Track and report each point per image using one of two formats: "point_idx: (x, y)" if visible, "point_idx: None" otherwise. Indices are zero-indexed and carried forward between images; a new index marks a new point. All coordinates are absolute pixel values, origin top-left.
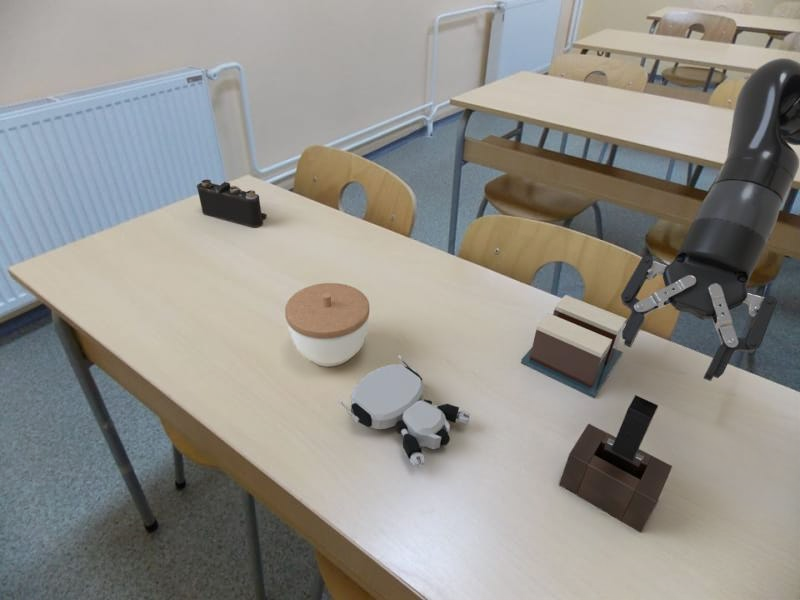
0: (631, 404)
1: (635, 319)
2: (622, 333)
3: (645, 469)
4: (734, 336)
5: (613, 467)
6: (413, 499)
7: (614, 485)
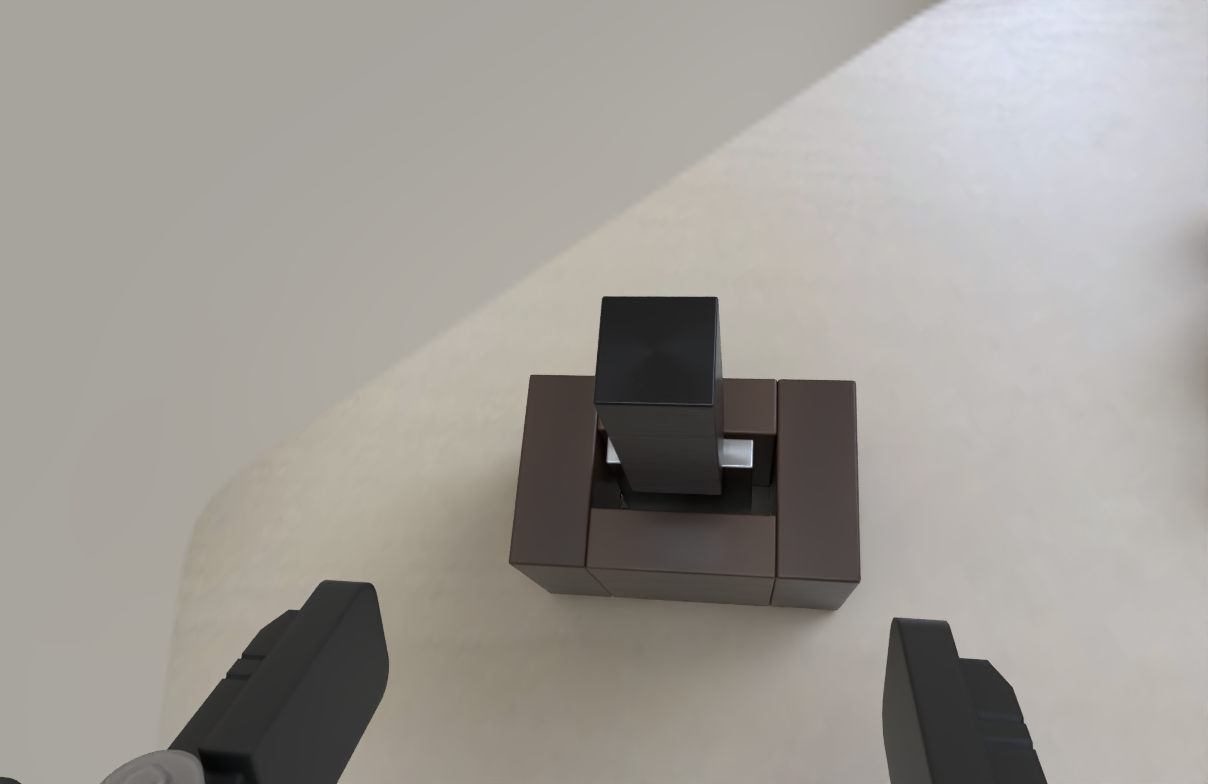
0: (711, 324)
1: (988, 772)
2: (1000, 680)
3: (592, 486)
4: None
5: None
6: (1171, 135)
7: None
